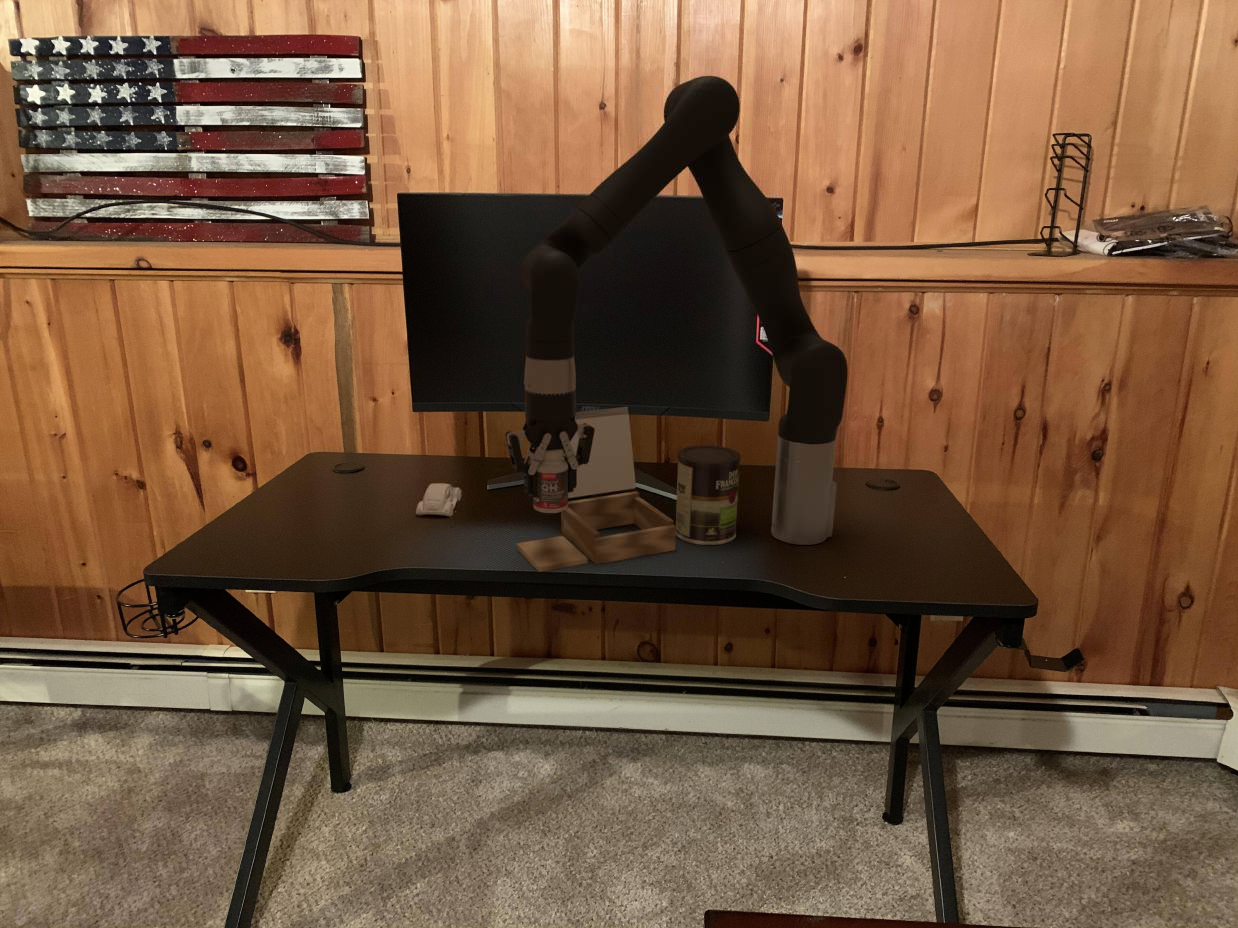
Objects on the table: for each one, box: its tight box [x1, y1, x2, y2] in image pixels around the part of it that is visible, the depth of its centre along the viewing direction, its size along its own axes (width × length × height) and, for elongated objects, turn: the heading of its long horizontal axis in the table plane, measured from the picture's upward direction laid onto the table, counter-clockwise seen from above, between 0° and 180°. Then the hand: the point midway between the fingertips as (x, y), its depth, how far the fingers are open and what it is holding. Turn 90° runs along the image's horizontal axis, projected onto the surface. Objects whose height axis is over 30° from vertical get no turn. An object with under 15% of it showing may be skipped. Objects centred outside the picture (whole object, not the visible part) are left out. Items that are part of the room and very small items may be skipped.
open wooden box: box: [560, 490, 677, 565], centre depth 150 cm, size 14×14×5 cm
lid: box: [562, 406, 637, 498], centre depth 155 cm, size 14×14×1 cm
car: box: [415, 483, 462, 517], centre depth 165 cm, size 12×6×5 cm, turn 176°
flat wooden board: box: [515, 535, 589, 573], centre depth 145 cm, size 8×10×1 cm
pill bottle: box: [532, 449, 568, 514], centre depth 141 cm, size 5×5×10 cm
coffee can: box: [675, 444, 742, 546], centre depth 152 cm, size 10×10×14 cm
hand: (550, 492), depth 142 cm, fingers closed on pill bottle, 5 cm apart
